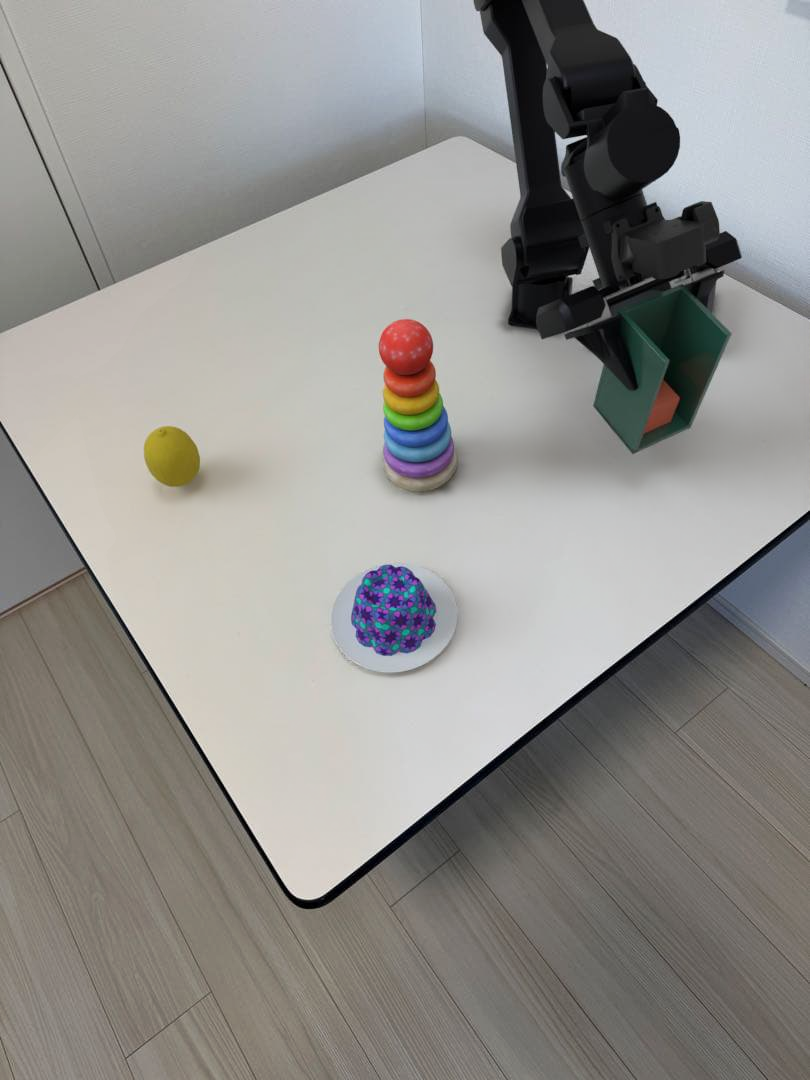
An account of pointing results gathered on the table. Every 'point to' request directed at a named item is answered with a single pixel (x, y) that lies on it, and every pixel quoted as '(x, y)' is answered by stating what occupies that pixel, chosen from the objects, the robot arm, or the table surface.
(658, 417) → the toy cube
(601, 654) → the table surface
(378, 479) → the table surface
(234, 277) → the table surface
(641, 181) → the robot arm
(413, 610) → the pudding
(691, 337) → the pour tub
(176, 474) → the lemon
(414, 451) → the stacking toy
